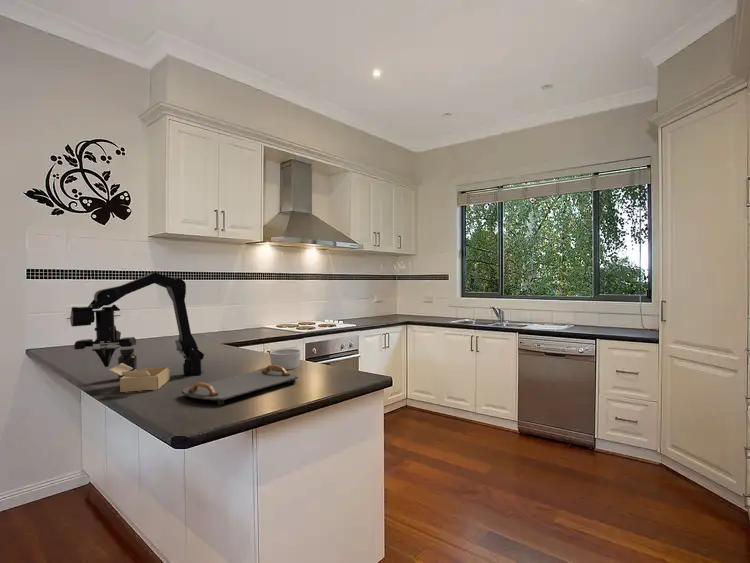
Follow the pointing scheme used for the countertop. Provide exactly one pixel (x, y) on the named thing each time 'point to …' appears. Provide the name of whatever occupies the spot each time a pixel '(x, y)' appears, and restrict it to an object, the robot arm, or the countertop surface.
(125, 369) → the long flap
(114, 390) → the countertop surface
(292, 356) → the ramekin
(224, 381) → the serving board
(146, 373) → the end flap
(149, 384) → the carton
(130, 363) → the supplement bottle
